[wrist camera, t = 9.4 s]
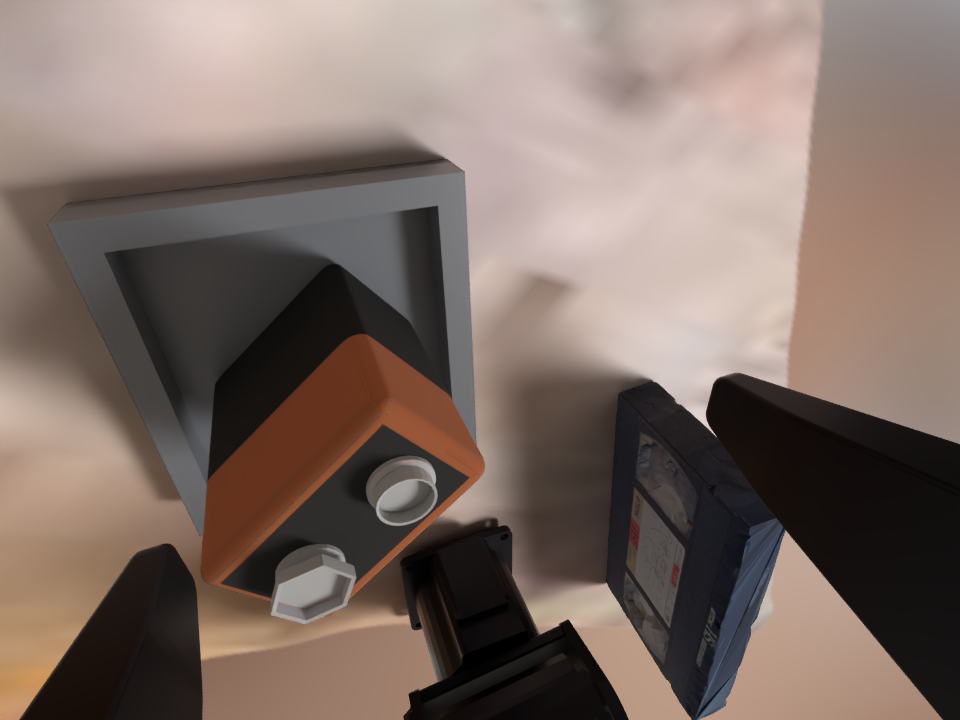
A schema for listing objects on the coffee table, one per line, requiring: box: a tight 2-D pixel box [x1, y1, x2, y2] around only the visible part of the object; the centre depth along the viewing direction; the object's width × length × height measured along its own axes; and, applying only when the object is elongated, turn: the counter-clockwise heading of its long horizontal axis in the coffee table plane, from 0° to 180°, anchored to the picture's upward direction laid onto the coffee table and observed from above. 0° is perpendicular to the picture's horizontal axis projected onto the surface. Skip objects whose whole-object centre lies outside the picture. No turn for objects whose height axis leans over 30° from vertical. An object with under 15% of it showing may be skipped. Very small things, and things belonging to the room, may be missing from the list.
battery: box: [201, 264, 485, 624], centre depth 17 cm, size 4×7×10 cm, turn 131°
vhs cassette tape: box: [606, 382, 786, 720], centre depth 31 cm, size 18×3×10 cm, turn 5°
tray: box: [47, 159, 477, 536], centre depth 21 cm, size 13×12×2 cm
